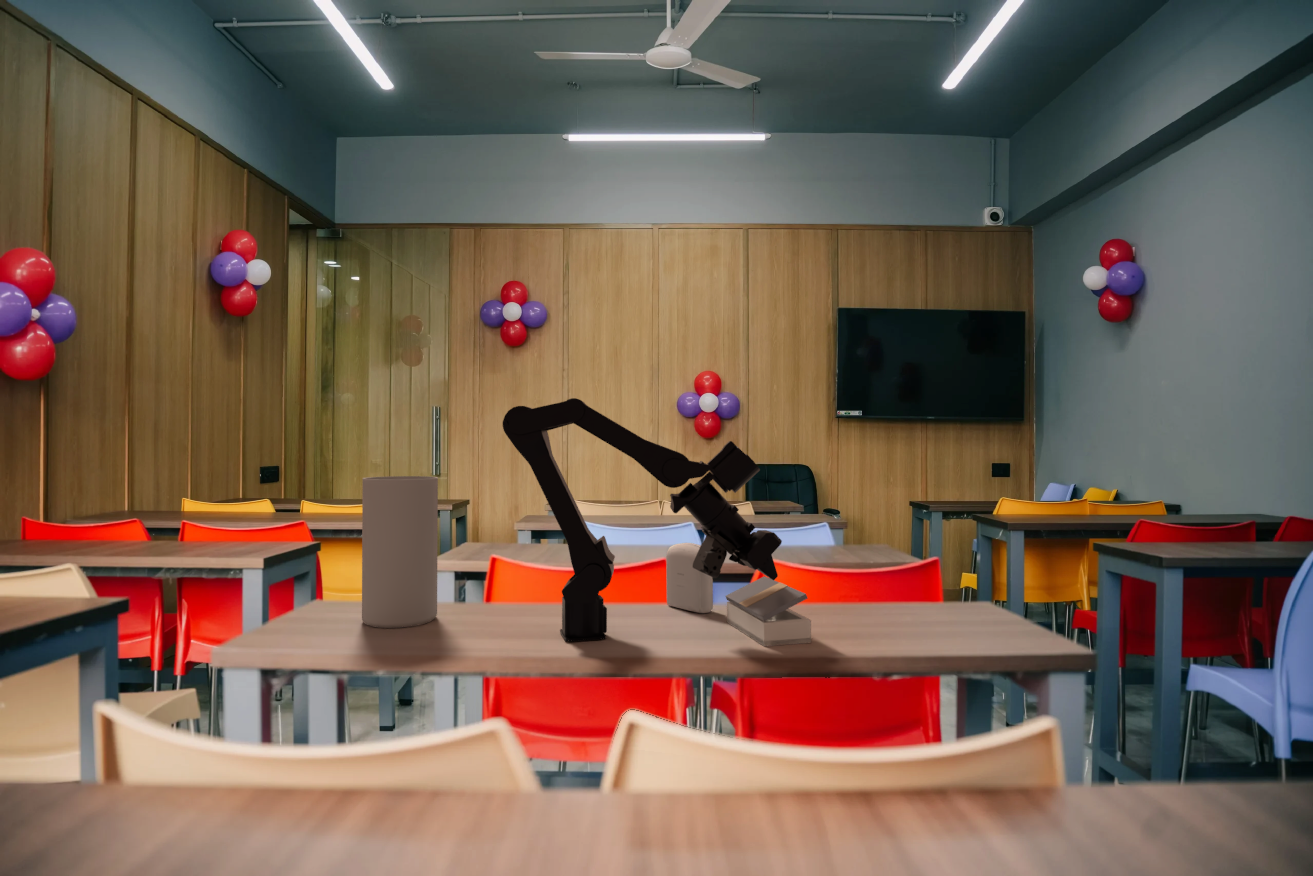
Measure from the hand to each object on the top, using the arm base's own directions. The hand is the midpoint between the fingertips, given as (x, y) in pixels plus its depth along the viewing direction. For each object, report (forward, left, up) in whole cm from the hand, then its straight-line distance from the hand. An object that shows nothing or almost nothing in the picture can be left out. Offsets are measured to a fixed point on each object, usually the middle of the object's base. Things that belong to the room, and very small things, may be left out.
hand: (775, 578), depth 126 cm
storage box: (-1, 0, -9) cm, 9 cm away
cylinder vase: (-60, +24, -9) cm, 66 cm away
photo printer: (-8, +20, -9) cm, 24 cm away
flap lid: (-2, 0, -3) cm, 4 cm away
